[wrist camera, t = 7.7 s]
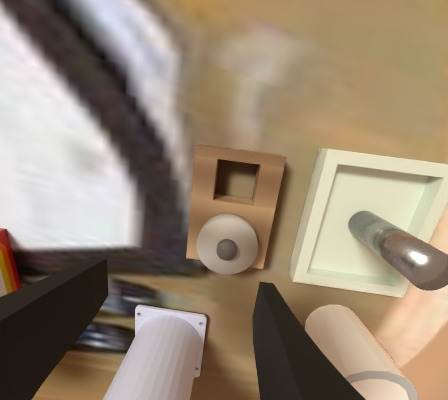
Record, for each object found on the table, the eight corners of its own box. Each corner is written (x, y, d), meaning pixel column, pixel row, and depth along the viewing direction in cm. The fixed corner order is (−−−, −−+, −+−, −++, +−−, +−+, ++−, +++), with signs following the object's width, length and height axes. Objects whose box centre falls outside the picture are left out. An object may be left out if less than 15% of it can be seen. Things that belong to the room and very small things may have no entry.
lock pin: (371, 237, 19) (447, 292, 12) (344, 234, 19) (404, 287, 12) (380, 212, 18) (465, 256, 11) (352, 209, 18) (420, 251, 11)
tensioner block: (260, 257, 21) (265, 284, 17) (191, 247, 21) (180, 272, 17) (280, 155, 18) (292, 159, 14) (199, 144, 18) (189, 146, 14)
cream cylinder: (308, 294, 22) (340, 364, 15) (374, 306, 21) (436, 382, 15) (291, 343, 24) (313, 424, 17) (351, 354, 23) (397, 440, 17)
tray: (388, 284, 21) (402, 297, 19) (288, 269, 21) (292, 281, 19) (440, 163, 17) (463, 166, 15) (319, 147, 17) (328, 148, 16)
